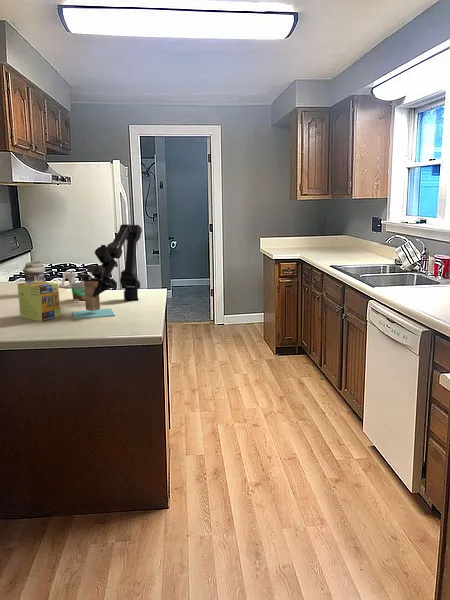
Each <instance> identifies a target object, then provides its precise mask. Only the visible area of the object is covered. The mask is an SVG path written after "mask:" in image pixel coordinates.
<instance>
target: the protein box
mask: <svg viewBox="0 0 450 600" xmlns="http://www.w3.org/2000/svg"><path fill="white" fill-rule="evenodd" d="M17 293H18V306H19V317H20V318H22V319H27V320H31V321H37V322H46V321H49V320H53V319H57V318H61V304H60V290H59V283H55V282H48V281H46V282H41V281H33V282H27V283H25V282H23V283H21V282H20V283H17Z"/></svg>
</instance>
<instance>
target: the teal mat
mask: <svg viewBox="0 0 450 600" xmlns="http://www.w3.org/2000/svg"><path fill="white" fill-rule="evenodd" d="M71 313H72V316H73V320H84V319H94V318H107V317H115V316H116V314H115V313H114V311H113V310H112V308H100V309H98V310H95V311H90V310H86V309H85V310H76V311H75V310H73V311H71Z"/></svg>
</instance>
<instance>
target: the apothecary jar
mask: <svg viewBox="0 0 450 600" xmlns="http://www.w3.org/2000/svg"><path fill="white" fill-rule="evenodd" d="M46 271H47V270H46V267H45V266H44V265H43V262H42V261H29V262H26V263H25V265H24V266H23V268H22V272H23V273H24V274H25V282H24V283H27V282H33V281H41V282H47V281H46V279H45V272H46Z"/></svg>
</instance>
